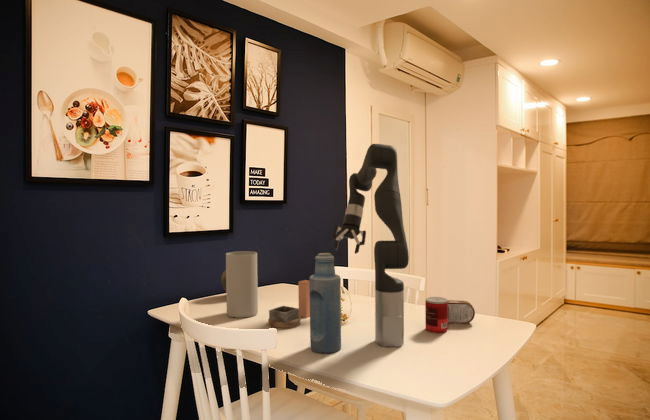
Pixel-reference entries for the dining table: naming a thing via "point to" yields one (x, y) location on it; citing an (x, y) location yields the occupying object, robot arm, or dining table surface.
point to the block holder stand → (284, 317)
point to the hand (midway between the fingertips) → (345, 251)
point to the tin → (460, 312)
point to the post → (304, 299)
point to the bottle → (325, 306)
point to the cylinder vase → (241, 284)
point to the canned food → (436, 314)
